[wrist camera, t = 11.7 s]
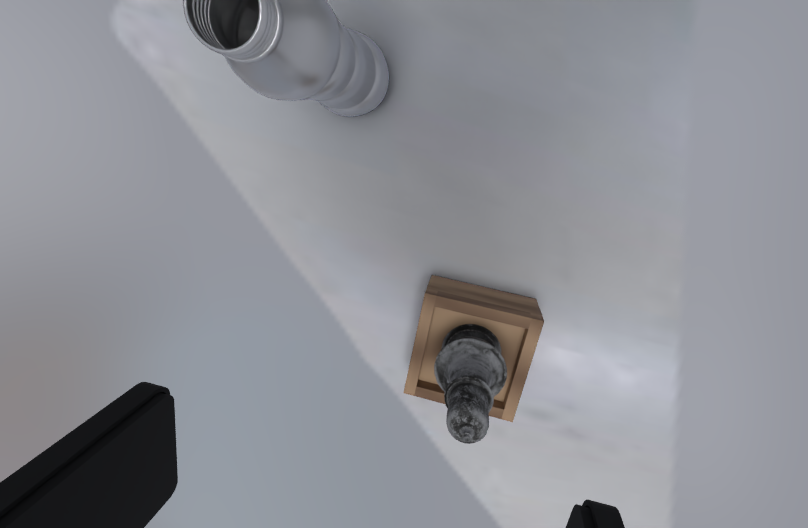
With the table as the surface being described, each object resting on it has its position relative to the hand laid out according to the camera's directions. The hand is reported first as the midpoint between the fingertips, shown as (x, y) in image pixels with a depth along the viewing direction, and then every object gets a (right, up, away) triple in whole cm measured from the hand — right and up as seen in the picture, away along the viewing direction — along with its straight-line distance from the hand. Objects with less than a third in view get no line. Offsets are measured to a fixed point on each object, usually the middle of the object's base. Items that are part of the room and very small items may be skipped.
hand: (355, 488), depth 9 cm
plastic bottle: (-3, +21, +27) cm, 35 cm away
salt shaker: (+7, -3, +28) cm, 29 cm away
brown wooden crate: (+8, -2, +32) cm, 33 cm away
